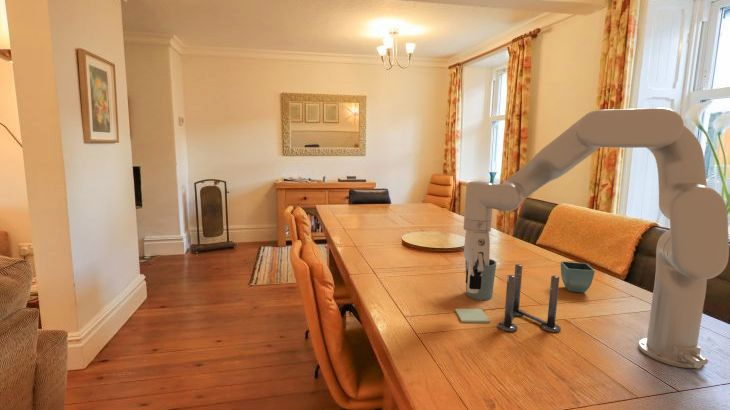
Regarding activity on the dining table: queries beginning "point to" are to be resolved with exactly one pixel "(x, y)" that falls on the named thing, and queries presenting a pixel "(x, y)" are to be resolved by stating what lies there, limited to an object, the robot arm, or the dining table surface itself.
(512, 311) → the upright post stand
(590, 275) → the flower pot
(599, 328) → the dining table surface
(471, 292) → the dowel
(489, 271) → the grey teal cup
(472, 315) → the pad
